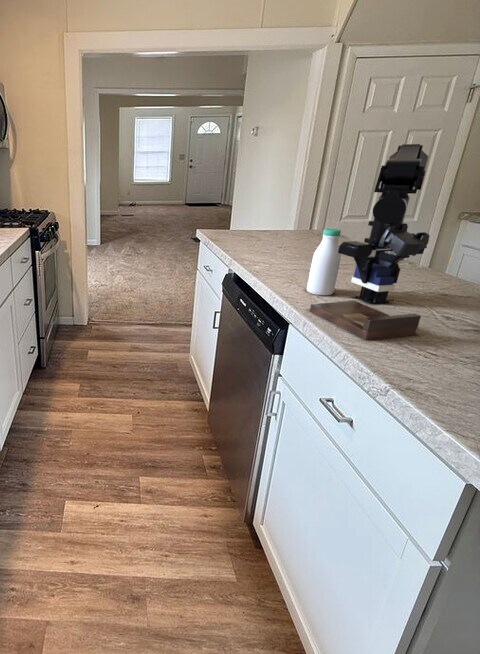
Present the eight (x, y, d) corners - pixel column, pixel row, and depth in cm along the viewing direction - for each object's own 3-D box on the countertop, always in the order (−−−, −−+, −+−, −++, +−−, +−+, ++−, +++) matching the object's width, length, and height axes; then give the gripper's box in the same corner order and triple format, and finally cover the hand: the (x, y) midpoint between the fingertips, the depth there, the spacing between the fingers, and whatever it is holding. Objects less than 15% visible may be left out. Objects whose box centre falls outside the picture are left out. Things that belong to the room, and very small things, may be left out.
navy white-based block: (350, 282, 103) (355, 262, 101) (365, 280, 103) (370, 262, 102) (377, 292, 95) (383, 271, 93) (393, 290, 96) (399, 270, 94)
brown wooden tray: (309, 310, 114) (312, 294, 112) (352, 306, 116) (356, 290, 114) (365, 339, 96) (370, 320, 94) (415, 334, 98) (421, 315, 96)
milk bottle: (338, 295, 125) (352, 231, 118) (313, 296, 125) (326, 231, 118) (325, 288, 132) (338, 227, 125) (301, 288, 133) (313, 227, 125)
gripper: (383, 224, 84) (365, 295, 90) (457, 221, 87) (435, 289, 93) (343, 217, 94) (330, 281, 100) (411, 214, 97) (394, 276, 103)
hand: (372, 282), depth 99 cm, fingers closed on navy white-based block, 4 cm apart
